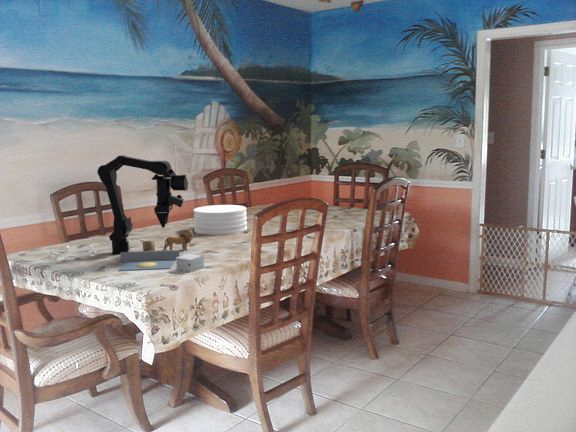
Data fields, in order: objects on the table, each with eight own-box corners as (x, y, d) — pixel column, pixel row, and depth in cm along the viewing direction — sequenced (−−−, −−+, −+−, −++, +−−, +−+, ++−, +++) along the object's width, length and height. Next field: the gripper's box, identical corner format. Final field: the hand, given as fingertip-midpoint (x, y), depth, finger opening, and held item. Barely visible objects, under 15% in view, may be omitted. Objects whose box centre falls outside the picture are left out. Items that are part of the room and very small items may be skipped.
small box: (176, 270, 217) (175, 257, 216) (190, 265, 223) (189, 253, 222) (190, 272, 212) (190, 259, 211) (204, 268, 219) (204, 255, 218)
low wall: (120, 262, 230) (120, 252, 230) (121, 261, 231) (120, 252, 231) (179, 259, 232) (178, 250, 232) (179, 259, 233) (179, 249, 233)
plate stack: (244, 234, 284) (243, 212, 282) (189, 235, 284) (188, 213, 283) (249, 224, 311) (248, 204, 310) (199, 225, 312) (198, 205, 310)
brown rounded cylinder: (142, 257, 239) (141, 243, 238) (144, 254, 244) (143, 240, 243) (154, 256, 239) (153, 242, 238) (156, 253, 244) (155, 240, 243)
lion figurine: (191, 247, 256) (190, 228, 254) (195, 249, 251) (194, 229, 250) (160, 251, 248) (159, 231, 247) (163, 253, 244) (162, 233, 242)
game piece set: (50, 253, 251) (49, 245, 251) (96, 249, 258) (96, 241, 258) (48, 263, 233) (47, 254, 233) (98, 258, 240) (97, 249, 240)
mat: (118, 271, 216) (118, 269, 216) (124, 263, 228) (124, 262, 228) (170, 268, 218) (170, 267, 218) (173, 261, 230) (173, 259, 230)
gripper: (180, 192, 233) (181, 229, 236) (184, 187, 251) (184, 221, 254) (153, 192, 232) (154, 229, 235) (158, 187, 250) (160, 221, 253)
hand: (164, 225), depth 244 cm, fingers open, 9 cm apart
